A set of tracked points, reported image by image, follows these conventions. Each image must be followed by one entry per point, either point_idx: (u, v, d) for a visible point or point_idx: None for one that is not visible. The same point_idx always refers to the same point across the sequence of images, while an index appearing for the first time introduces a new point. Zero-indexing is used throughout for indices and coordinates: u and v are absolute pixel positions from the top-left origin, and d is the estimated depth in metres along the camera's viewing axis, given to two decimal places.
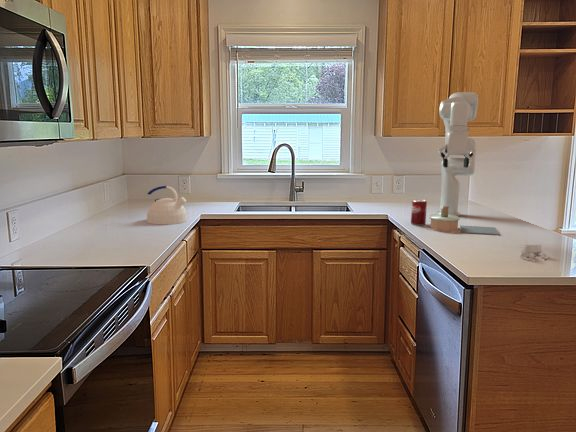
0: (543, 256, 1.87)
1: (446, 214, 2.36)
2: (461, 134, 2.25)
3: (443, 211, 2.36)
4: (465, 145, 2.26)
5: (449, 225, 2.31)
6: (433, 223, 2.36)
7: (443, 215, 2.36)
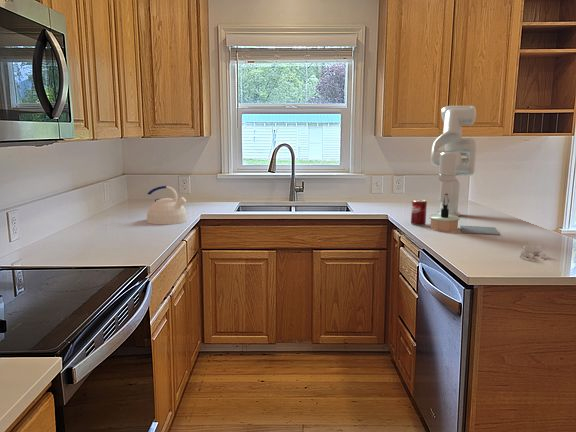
0: (542, 256, 1.87)
1: None
2: None
3: None
4: None
5: (449, 225, 2.31)
6: (433, 223, 2.36)
7: None
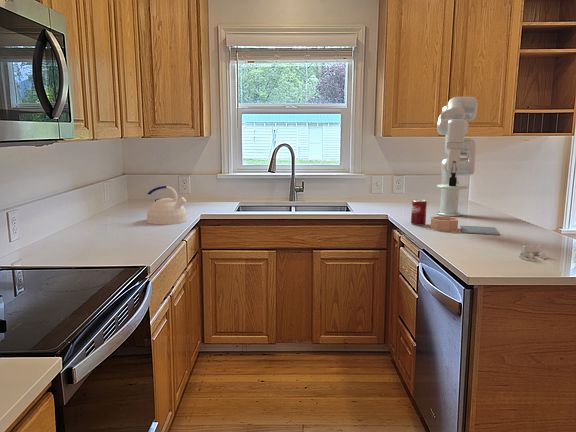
0: (542, 256, 1.87)
1: None
2: None
3: None
4: None
5: (449, 225, 2.31)
6: (433, 223, 2.36)
7: None
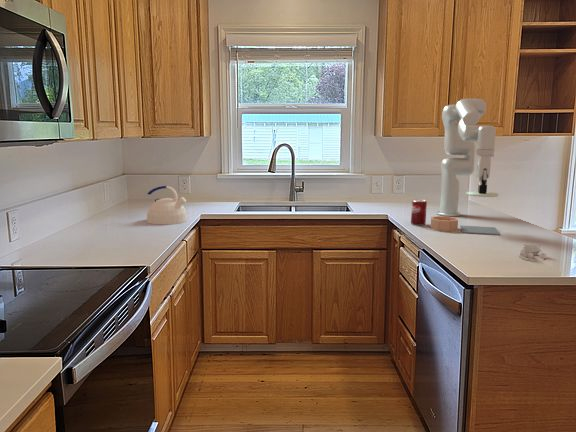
0: (542, 256, 1.87)
1: None
2: None
3: None
4: None
5: (449, 225, 2.31)
6: (433, 223, 2.36)
7: None
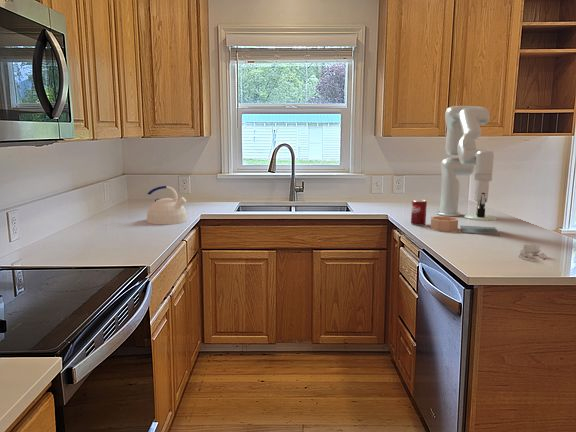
0: (541, 256, 1.87)
1: None
2: None
3: None
4: None
5: (449, 225, 2.31)
6: (433, 223, 2.36)
7: None
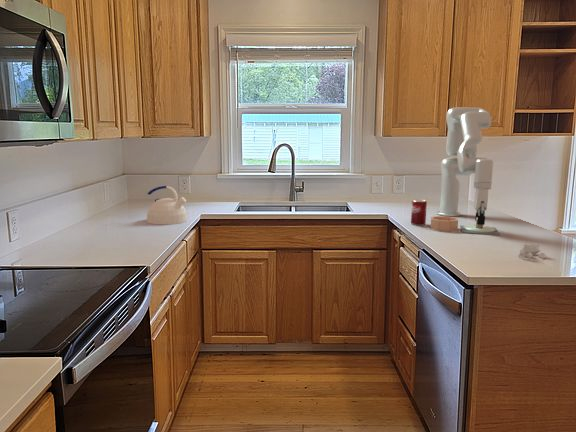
0: (541, 256, 1.87)
1: (481, 225, 2.32)
2: None
3: None
4: None
5: (449, 225, 2.31)
6: (433, 223, 2.36)
7: (478, 226, 2.33)
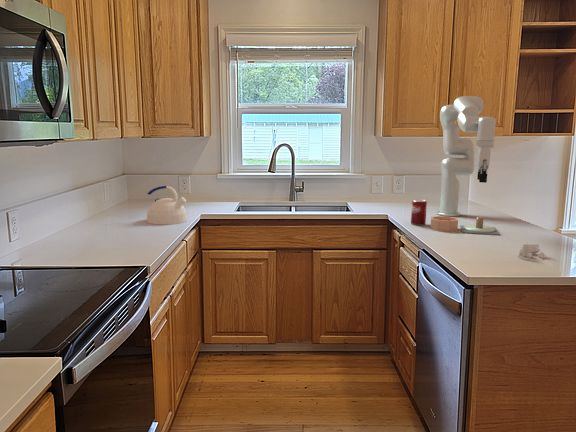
0: (541, 255, 1.87)
1: (481, 225, 2.32)
2: None
3: (478, 222, 2.32)
4: None
5: (449, 225, 2.31)
6: (433, 223, 2.36)
7: (478, 226, 2.33)
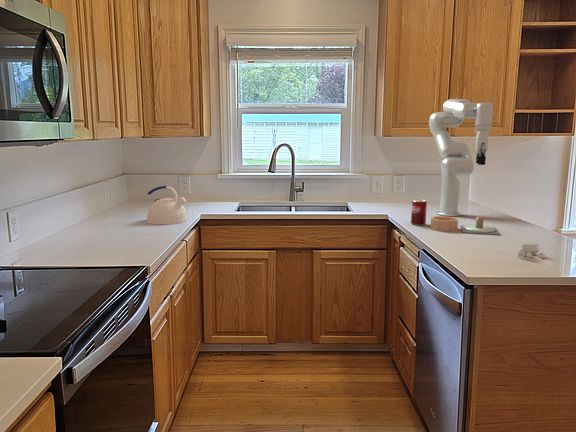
0: (540, 255, 1.87)
1: (481, 225, 2.32)
2: None
3: (478, 222, 2.32)
4: None
5: (449, 225, 2.31)
6: (433, 223, 2.36)
7: (478, 226, 2.33)
